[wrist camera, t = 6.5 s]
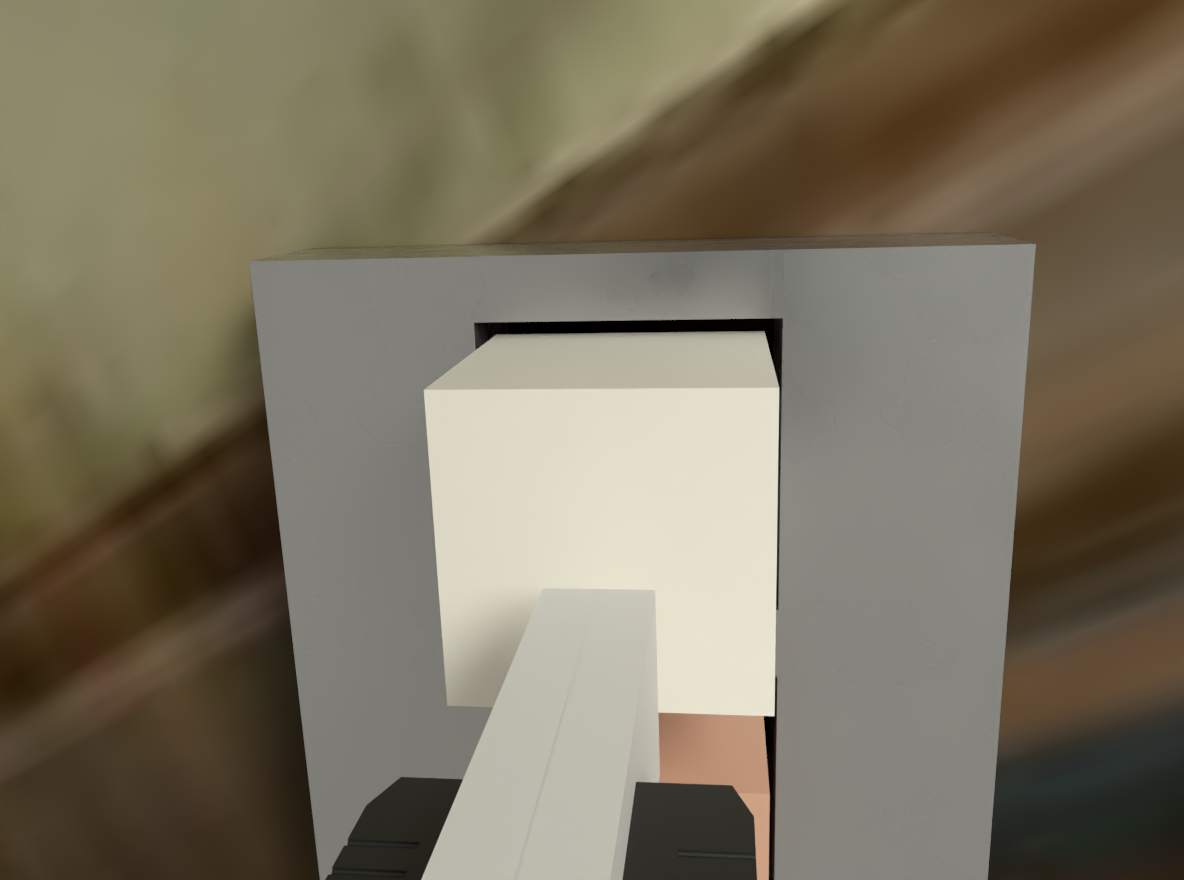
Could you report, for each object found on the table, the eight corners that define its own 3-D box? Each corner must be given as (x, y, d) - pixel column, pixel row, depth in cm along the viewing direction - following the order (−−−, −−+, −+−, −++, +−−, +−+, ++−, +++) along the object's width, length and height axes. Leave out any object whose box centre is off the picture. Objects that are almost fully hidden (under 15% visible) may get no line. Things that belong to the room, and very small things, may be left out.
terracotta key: (524, 649, 22) (470, 781, 18) (758, 655, 22) (770, 793, 17) (534, 849, 24) (487, 1024, 19) (756, 860, 23) (766, 1044, 18)
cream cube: (496, 334, 20) (423, 389, 15) (764, 331, 19) (779, 387, 14) (510, 580, 21) (447, 705, 16) (762, 585, 20) (774, 716, 15)
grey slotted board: (310, 248, 22) (249, 261, 19) (991, 232, 20) (1036, 243, 18) (392, 1081, 28) (355, 1187, 25) (933, 1124, 26) (959, 1243, 23)
